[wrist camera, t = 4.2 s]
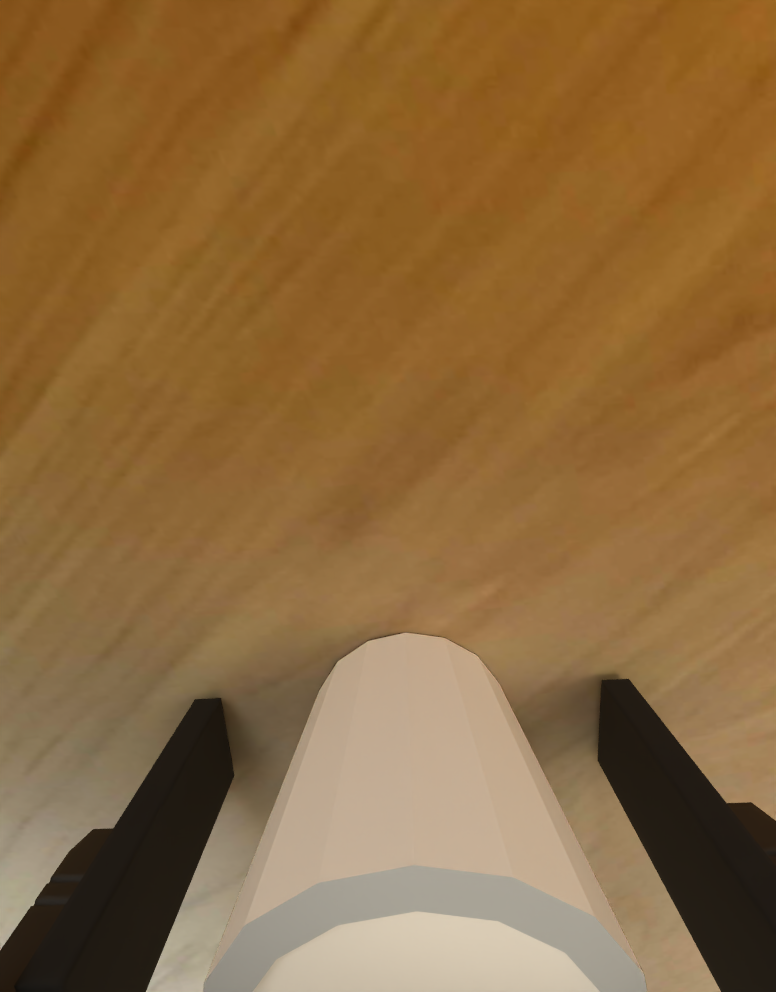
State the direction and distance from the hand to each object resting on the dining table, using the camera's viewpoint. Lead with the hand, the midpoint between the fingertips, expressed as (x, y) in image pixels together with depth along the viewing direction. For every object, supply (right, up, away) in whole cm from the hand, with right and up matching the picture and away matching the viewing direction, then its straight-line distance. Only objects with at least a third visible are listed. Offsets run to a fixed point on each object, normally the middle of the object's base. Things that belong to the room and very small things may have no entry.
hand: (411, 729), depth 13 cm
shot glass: (0, 0, 0) cm, 1 cm away
